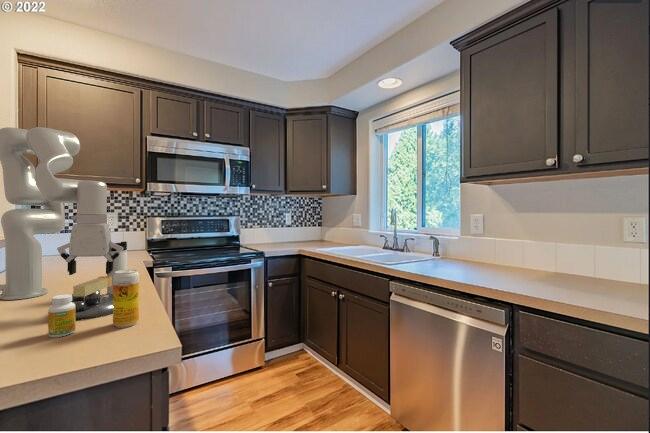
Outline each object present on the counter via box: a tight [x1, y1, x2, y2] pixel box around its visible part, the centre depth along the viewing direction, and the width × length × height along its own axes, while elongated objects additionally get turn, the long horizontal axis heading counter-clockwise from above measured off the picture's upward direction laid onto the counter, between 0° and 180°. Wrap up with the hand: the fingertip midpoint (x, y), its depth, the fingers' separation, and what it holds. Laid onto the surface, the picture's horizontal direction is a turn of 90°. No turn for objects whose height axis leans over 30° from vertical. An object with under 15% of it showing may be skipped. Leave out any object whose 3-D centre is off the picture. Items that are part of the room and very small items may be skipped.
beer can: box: [112, 268, 140, 329], centre depth 87 cm, size 6×6×15 cm
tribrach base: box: [71, 293, 113, 321], centre depth 98 cm, size 18×18×4 cm
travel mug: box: [106, 241, 128, 296], centre depth 116 cm, size 6×7×20 cm
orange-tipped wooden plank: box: [72, 275, 112, 305], centre depth 99 cm, size 13×4×7 cm, turn 5°
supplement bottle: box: [47, 293, 76, 338], centre depth 80 cm, size 5×5×10 cm
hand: (90, 273), depth 98 cm, fingers open, 9 cm apart
